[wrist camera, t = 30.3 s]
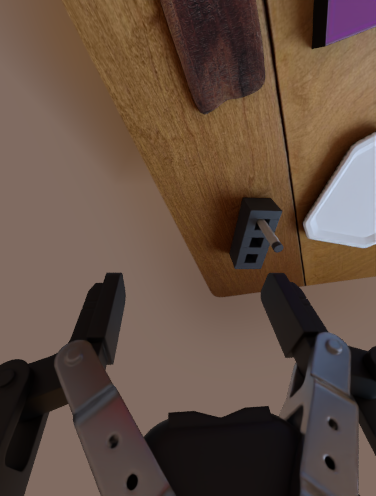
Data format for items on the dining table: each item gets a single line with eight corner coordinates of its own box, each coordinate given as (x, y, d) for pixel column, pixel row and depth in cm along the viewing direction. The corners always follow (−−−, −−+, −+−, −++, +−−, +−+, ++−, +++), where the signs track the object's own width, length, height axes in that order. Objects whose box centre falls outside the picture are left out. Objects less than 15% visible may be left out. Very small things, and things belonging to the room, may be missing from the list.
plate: (358, 120, 33) (368, 122, 32) (455, 151, 37) (469, 154, 36) (290, 231, 45) (295, 237, 44) (369, 245, 49) (376, 251, 48)
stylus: (248, 213, 42) (272, 251, 33) (251, 206, 41) (276, 244, 32) (255, 214, 42) (280, 253, 33) (258, 207, 41) (285, 245, 32)
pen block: (253, 253, 48) (260, 269, 45) (229, 253, 48) (234, 268, 44) (271, 198, 40) (282, 211, 36) (242, 197, 40) (250, 210, 36)
